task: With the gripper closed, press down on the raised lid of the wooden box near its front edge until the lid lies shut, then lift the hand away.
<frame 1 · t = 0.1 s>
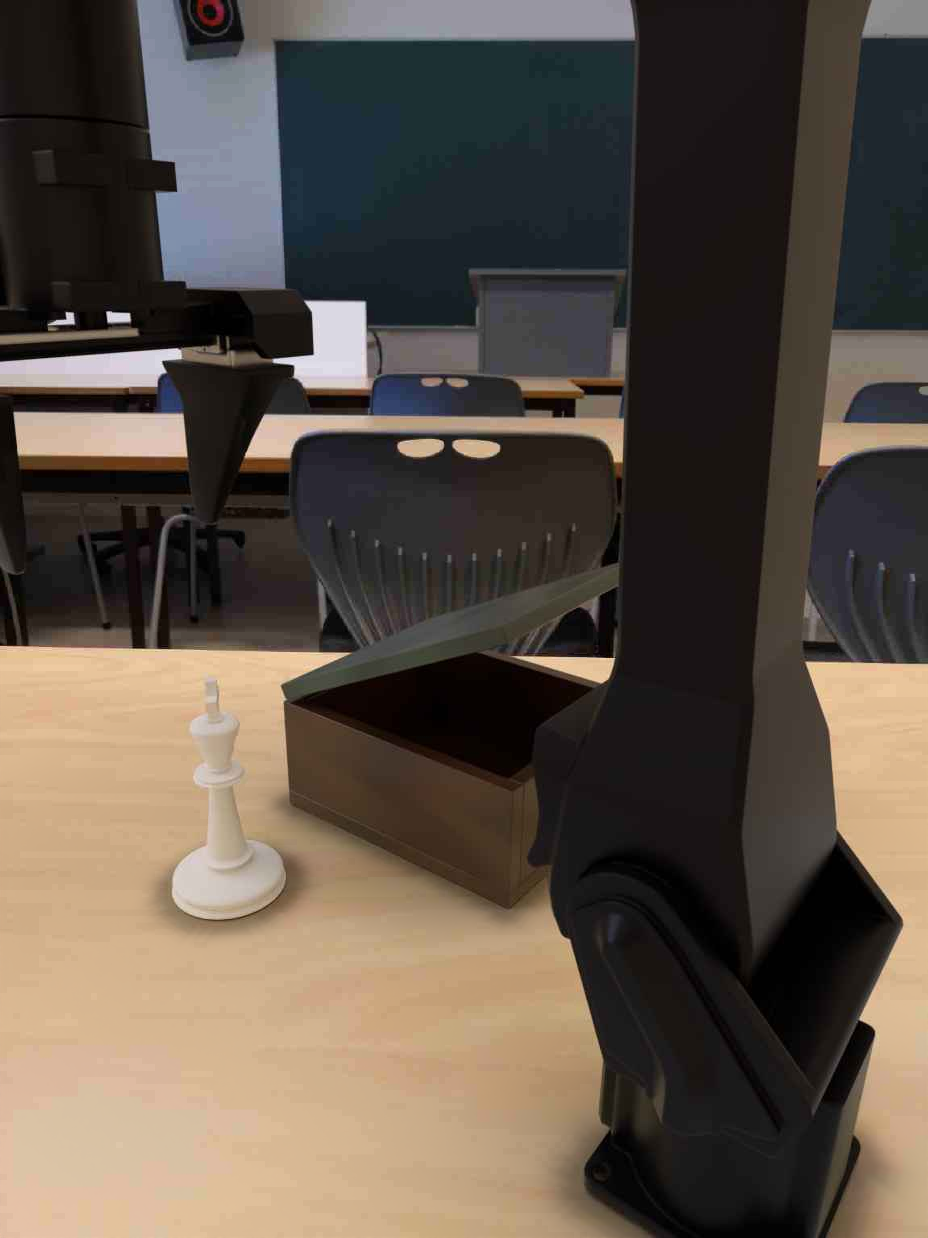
hand: (119, 545, 39), 15 cm above the table, tool pointing down, fingers open, 9 cm apart
box lid: (460, 628, 45), point 9 cm above the table, hinge at 26.0°
chess piece: (230, 887, 42), on the table
wooden box: (463, 799, 48), on the table
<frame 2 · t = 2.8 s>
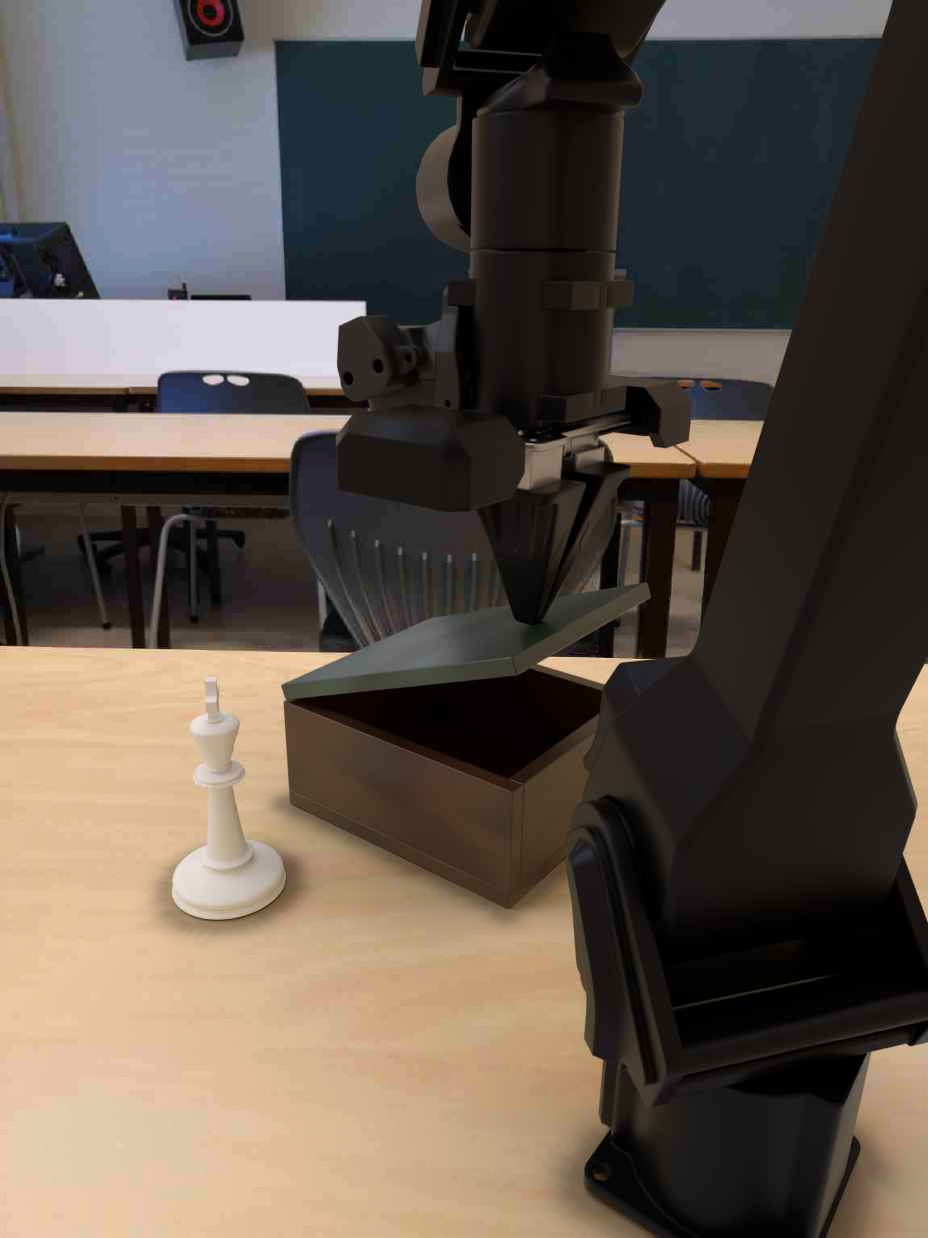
hand: (528, 621, 42), 11 cm above the table, tool pointing down, fingers closed
box lid: (464, 641, 45), point 9 cm above the table, hinge at 20.8°
everything else where it was.
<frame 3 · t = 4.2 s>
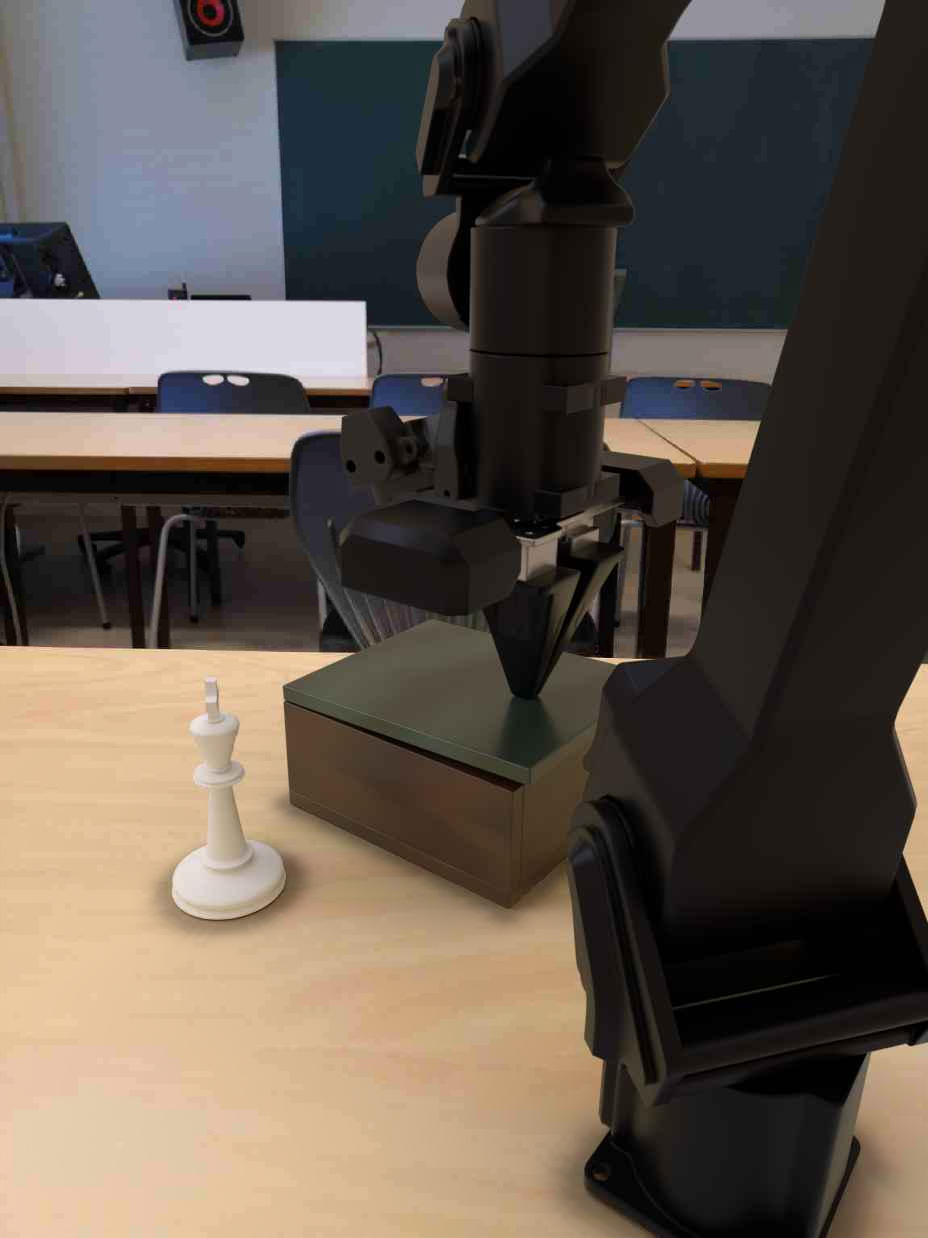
hand: (525, 695, 44), 7 cm above the table, tool pointing down, fingers closed, pressing on box lid
box lid: (471, 687, 46), point 7 cm above the table, hinge at 2.0°, touching gripper
everything else where it was.
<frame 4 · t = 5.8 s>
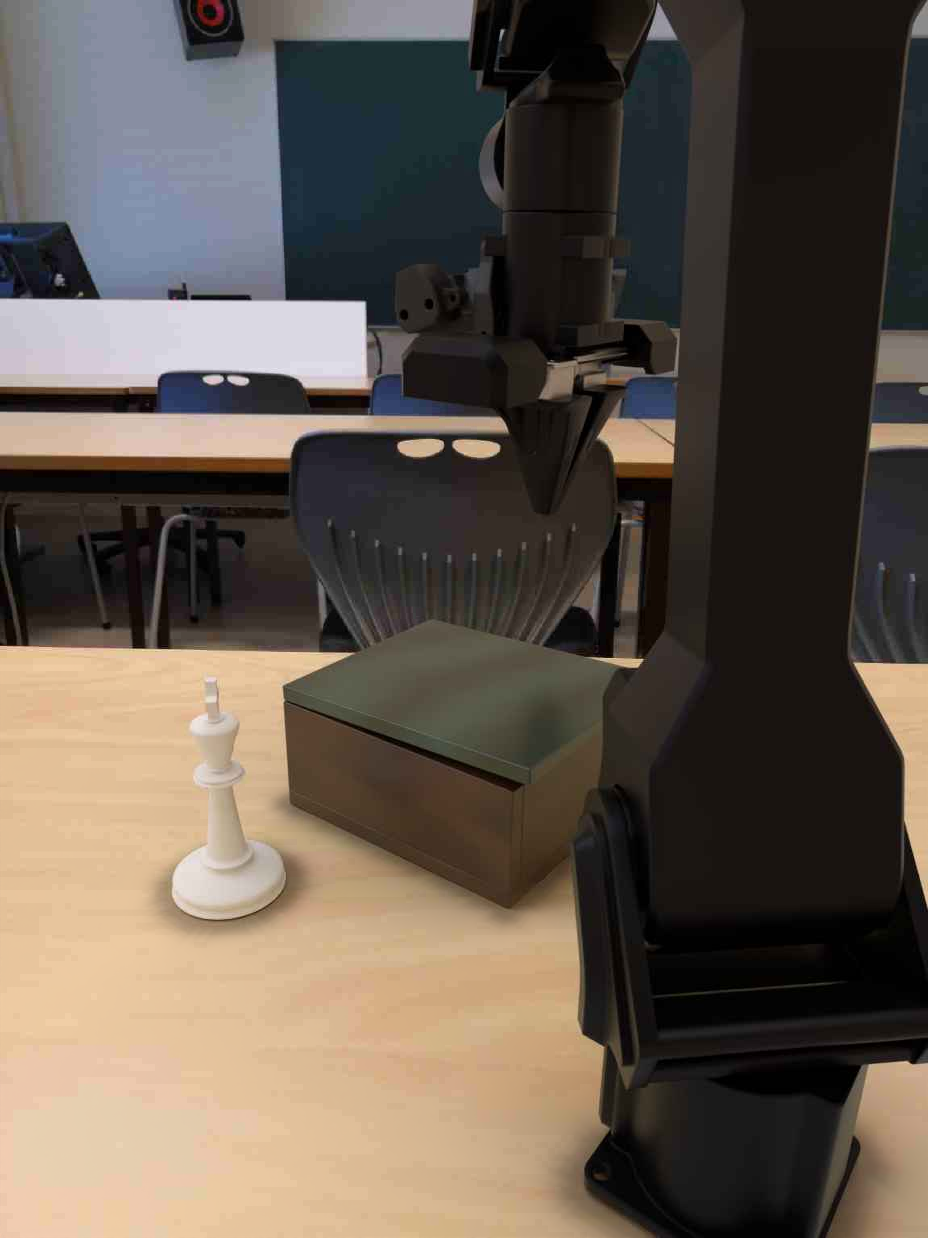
hand: (544, 513, 53), 13 cm above the table, tool pointing down, fingers closed
box lid: (471, 687, 46), point 7 cm above the table, hinge at 2.0°
everything else where it was.
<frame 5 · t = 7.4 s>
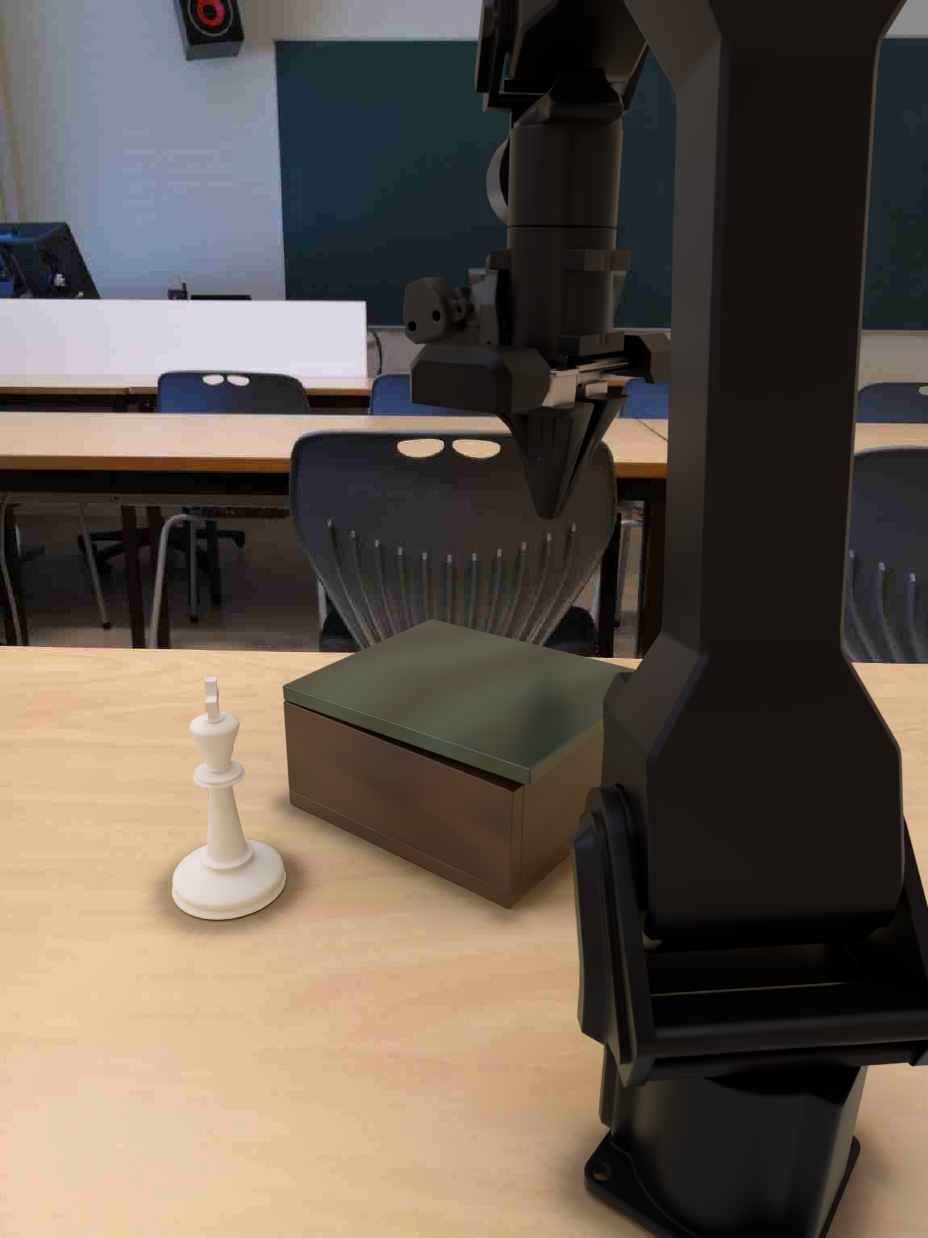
hand: (548, 517, 55), 12 cm above the table, tool pointing down, fingers closed
nothing on the table moved.
at the end: box lid at +2° (first picture: +26°); chess piece moved 0.2 cm from its start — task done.
